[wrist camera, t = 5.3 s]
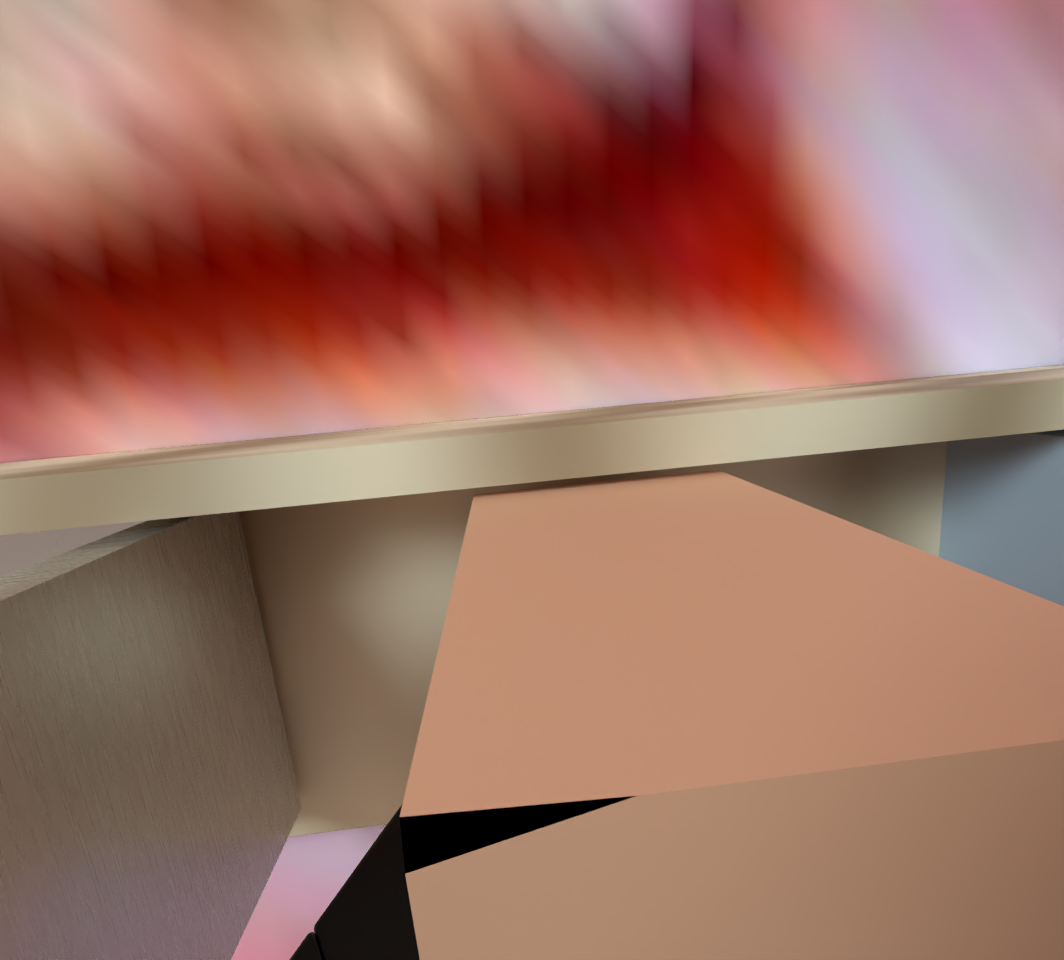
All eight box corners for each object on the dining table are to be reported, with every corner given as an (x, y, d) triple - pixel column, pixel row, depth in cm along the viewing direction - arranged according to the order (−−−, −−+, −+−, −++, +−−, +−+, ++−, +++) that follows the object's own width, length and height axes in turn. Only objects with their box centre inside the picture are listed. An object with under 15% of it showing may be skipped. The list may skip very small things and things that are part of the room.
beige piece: (1118, 360, 11) (2248, 314, 4) (1069, 702, 13) (1791, 1106, 6) (-58, 468, 10) (-1529, 691, 3) (63, 831, 12) (-640, 1551, 5)
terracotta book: (718, 469, 8) (1318, 706, 2) (722, 826, 9) (1094, 1567, 4) (473, 493, 8) (397, 826, 2) (515, 854, 9) (543, 1683, 3)
